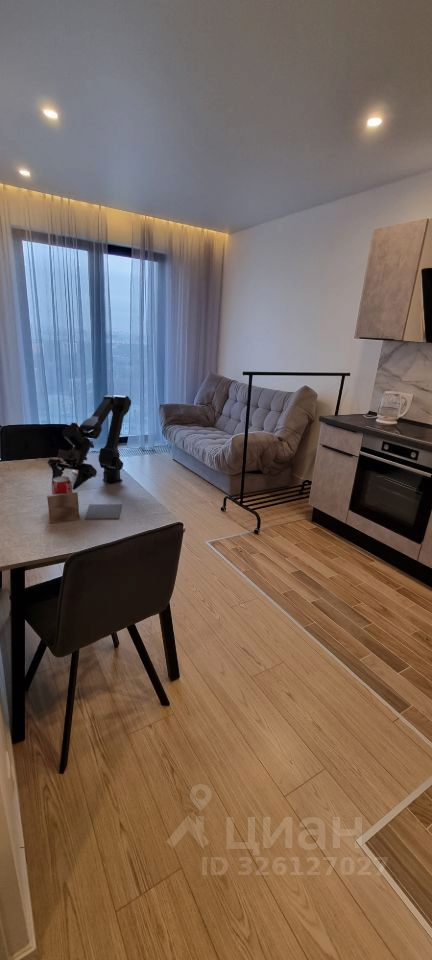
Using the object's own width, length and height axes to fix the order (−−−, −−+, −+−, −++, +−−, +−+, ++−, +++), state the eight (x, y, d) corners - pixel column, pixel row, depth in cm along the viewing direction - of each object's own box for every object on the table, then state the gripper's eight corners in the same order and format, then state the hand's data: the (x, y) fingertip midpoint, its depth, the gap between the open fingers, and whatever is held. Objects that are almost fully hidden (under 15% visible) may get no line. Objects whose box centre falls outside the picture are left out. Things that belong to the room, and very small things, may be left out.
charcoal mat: (89, 505, 151) (89, 504, 151) (121, 505, 153) (121, 504, 153) (84, 519, 140) (84, 518, 140) (118, 519, 142) (118, 517, 142)
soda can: (67, 513, 144) (64, 483, 140) (49, 511, 146) (46, 480, 141) (77, 506, 151) (74, 476, 147) (60, 503, 152) (57, 474, 148)
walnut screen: (79, 514, 144) (77, 492, 141) (79, 519, 140) (78, 496, 137) (49, 518, 140) (47, 495, 137) (49, 523, 136) (47, 499, 133)
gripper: (48, 437, 148) (29, 473, 141) (90, 443, 142) (73, 481, 136) (63, 452, 157) (47, 486, 151) (104, 458, 152) (88, 494, 146)
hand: (63, 487), depth 146 cm, fingers open, 9 cm apart
